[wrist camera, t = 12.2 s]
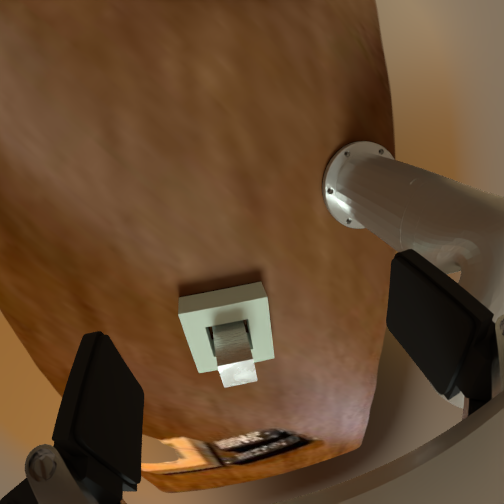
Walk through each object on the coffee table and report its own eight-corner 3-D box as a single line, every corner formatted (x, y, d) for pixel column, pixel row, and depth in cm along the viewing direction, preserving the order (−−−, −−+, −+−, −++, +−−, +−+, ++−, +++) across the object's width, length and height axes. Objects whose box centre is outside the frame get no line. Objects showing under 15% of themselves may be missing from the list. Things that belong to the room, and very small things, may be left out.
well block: (261, 281, 43) (267, 296, 39) (268, 341, 48) (274, 358, 45) (178, 297, 42) (178, 314, 38) (197, 355, 47) (199, 373, 43)
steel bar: (239, 307, 44) (253, 358, 35) (243, 328, 46) (257, 380, 36) (210, 312, 44) (217, 366, 34) (216, 334, 46) (224, 387, 36)
